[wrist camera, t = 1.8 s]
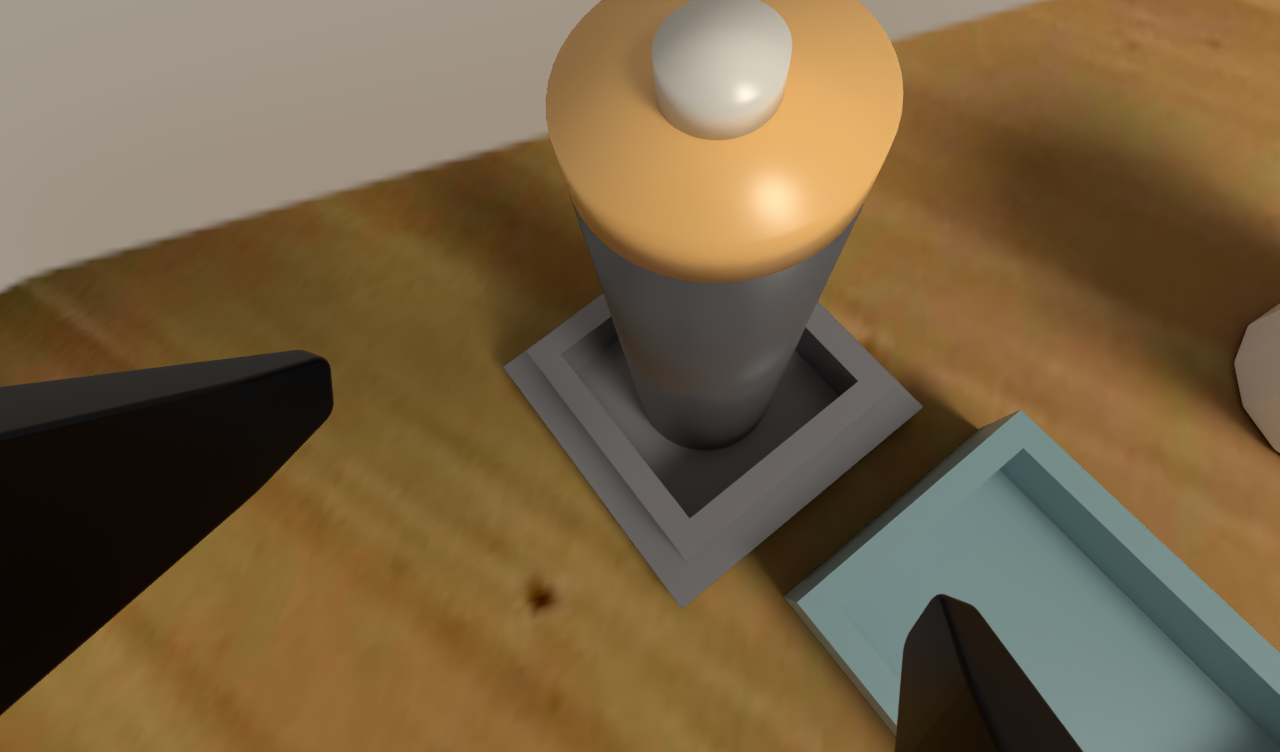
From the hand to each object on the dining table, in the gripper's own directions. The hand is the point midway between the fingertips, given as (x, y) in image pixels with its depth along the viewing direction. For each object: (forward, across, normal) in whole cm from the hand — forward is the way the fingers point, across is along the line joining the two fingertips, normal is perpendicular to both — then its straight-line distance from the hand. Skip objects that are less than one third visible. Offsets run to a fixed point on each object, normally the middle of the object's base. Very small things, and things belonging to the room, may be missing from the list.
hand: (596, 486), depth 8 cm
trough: (+8, -12, +8) cm, 17 cm away
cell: (+11, 0, +4) cm, 12 cm away
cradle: (+12, 0, +5) cm, 13 cm away
